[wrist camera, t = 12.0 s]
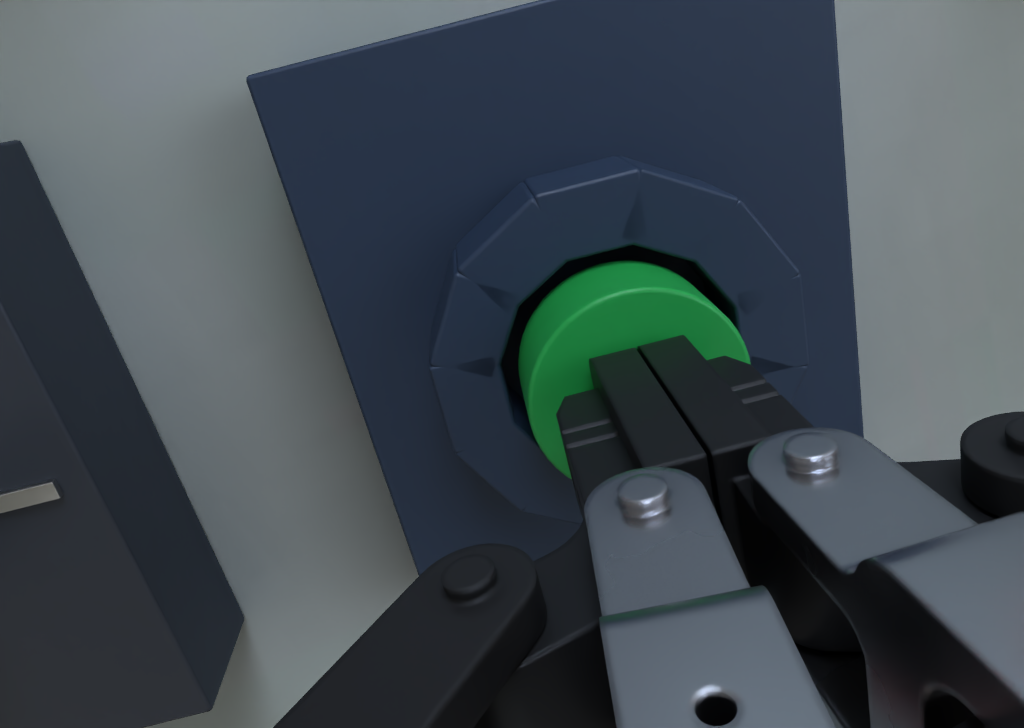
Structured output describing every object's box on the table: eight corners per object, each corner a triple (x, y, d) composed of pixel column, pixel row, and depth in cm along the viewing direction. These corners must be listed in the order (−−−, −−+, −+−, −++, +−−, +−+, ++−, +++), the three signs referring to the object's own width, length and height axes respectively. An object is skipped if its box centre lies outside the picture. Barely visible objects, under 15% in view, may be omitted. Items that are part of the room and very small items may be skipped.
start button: (496, 288, 13) (503, 321, 11) (702, 236, 13) (739, 261, 11) (541, 468, 14) (554, 520, 13) (729, 421, 14) (766, 467, 13)
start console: (271, 74, 15) (212, 78, 11) (777, -56, 15) (889, -96, 11) (438, 570, 19) (436, 692, 16) (825, 474, 19) (917, 572, 15)
